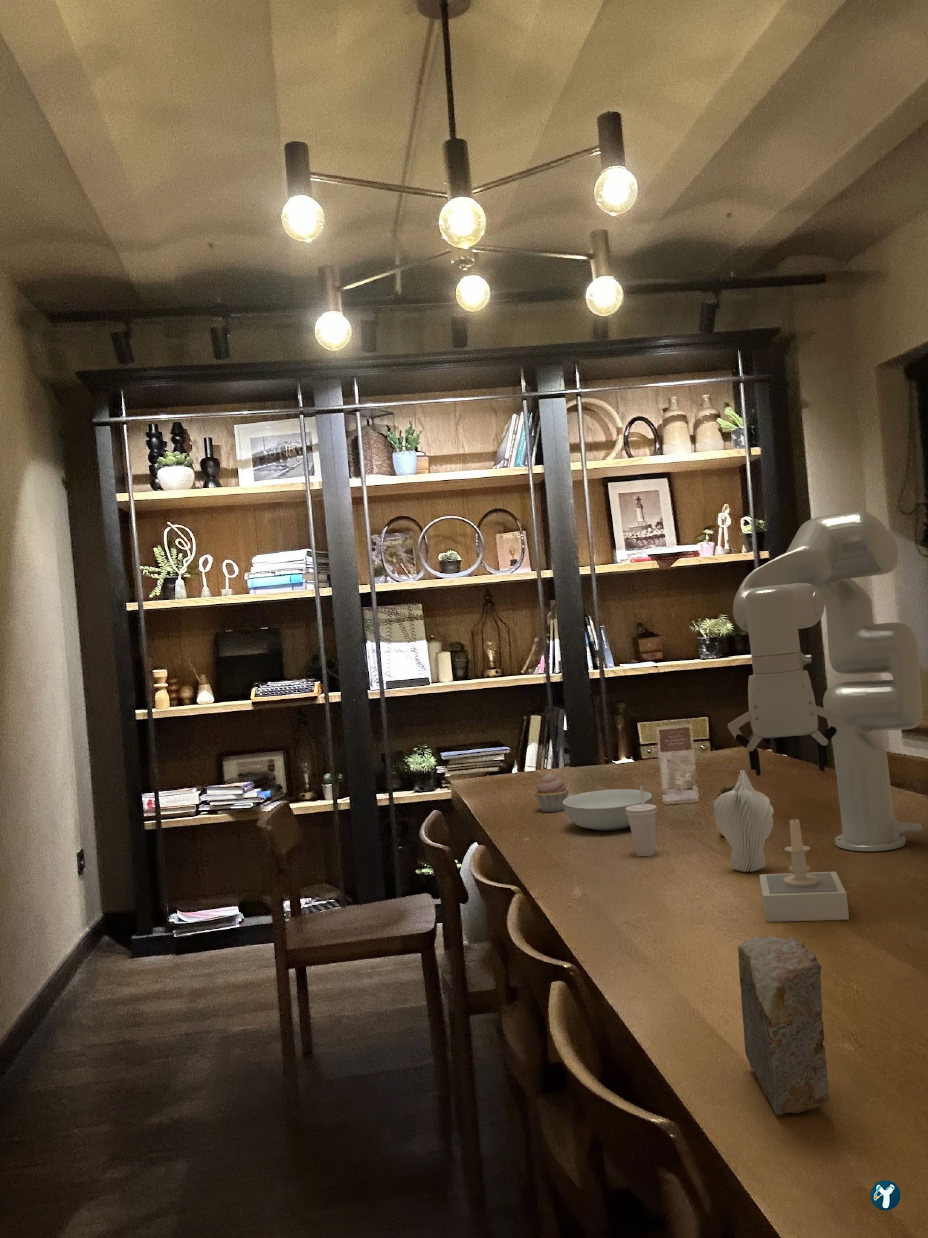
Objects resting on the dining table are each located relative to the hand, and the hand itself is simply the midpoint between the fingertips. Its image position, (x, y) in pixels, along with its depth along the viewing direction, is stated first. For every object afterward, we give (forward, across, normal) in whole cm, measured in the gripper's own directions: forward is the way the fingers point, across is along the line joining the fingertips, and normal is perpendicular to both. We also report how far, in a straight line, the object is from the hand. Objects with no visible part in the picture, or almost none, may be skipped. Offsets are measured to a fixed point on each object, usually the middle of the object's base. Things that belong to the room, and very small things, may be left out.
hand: (789, 771), depth 153 cm
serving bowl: (+23, +37, -66) cm, 79 cm away
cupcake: (+23, +54, -89) cm, 107 cm away
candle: (+18, 0, +1) cm, 18 cm away
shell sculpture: (+22, +7, -23) cm, 33 cm away
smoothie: (+22, +27, -38) cm, 52 cm away
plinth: (+22, 0, +1) cm, 22 cm away
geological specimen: (+21, +7, +60) cm, 64 cm away
